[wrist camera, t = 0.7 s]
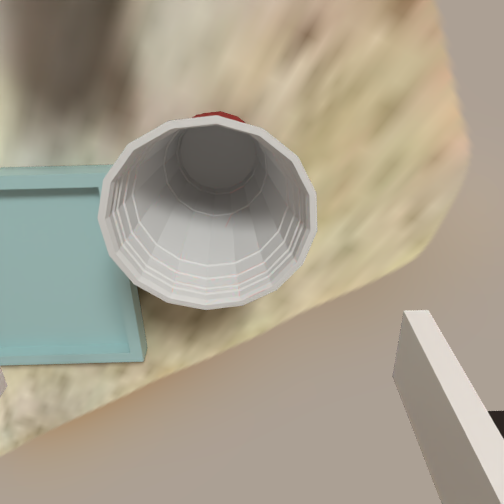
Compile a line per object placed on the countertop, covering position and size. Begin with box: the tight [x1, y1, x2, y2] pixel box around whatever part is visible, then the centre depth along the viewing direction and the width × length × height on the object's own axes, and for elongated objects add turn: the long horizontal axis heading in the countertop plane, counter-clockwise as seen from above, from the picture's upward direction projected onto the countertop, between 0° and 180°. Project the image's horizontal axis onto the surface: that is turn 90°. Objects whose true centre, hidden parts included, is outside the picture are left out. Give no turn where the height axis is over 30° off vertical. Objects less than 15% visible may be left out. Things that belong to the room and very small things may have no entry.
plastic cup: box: [97, 111, 317, 310], centre depth 28 cm, size 11×11×12 cm
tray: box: [0, 165, 147, 365], centre depth 36 cm, size 17×17×2 cm
